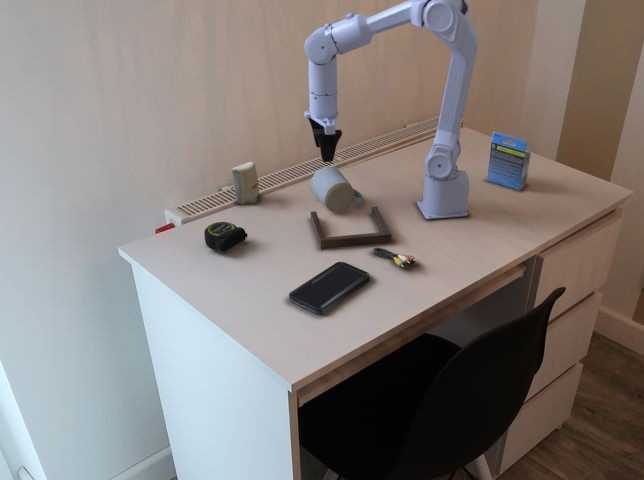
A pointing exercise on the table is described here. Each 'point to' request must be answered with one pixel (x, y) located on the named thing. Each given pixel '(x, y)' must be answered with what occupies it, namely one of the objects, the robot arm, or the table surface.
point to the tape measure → (223, 236)
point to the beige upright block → (246, 183)
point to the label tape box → (508, 162)
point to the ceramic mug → (334, 189)
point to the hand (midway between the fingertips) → (324, 153)
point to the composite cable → (396, 257)
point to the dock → (353, 240)
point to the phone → (329, 287)
